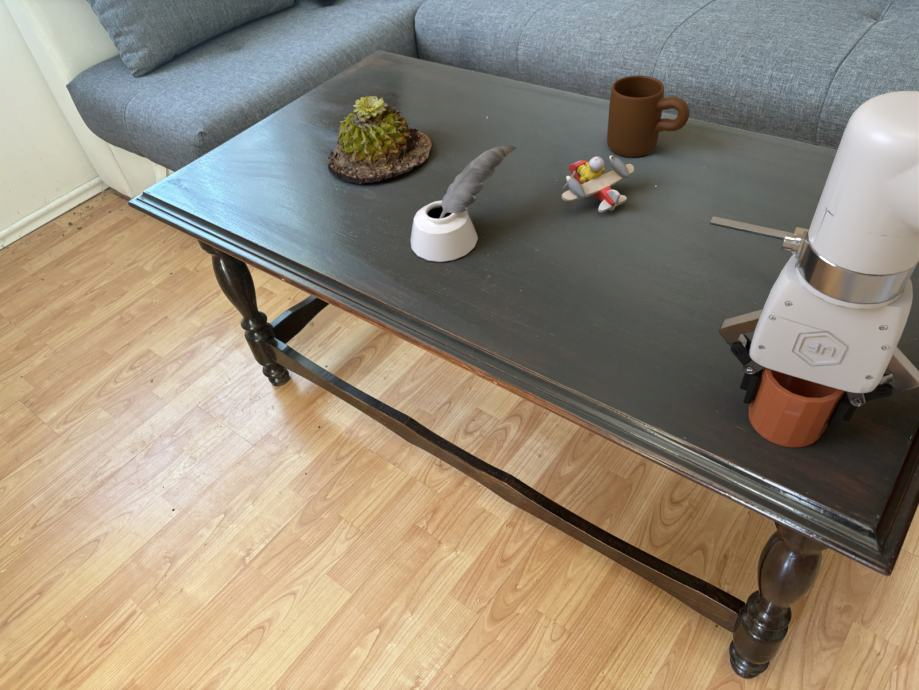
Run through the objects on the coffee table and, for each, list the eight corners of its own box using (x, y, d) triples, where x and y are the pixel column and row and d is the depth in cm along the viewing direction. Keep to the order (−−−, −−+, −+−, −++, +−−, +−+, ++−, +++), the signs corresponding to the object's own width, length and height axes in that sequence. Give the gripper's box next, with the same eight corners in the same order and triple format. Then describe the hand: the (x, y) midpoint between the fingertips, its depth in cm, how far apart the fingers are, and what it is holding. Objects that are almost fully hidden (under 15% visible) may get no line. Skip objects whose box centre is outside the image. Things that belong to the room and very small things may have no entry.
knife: (854, 247, 80) (858, 239, 79) (853, 255, 79) (856, 247, 78) (712, 217, 87) (714, 209, 86) (709, 224, 86) (711, 216, 85)
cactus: (362, 199, 97) (348, 140, 90) (310, 160, 107) (293, 104, 100) (453, 153, 104) (446, 94, 97) (396, 121, 113) (386, 65, 106)
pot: (828, 405, 65) (852, 358, 60) (816, 458, 61) (841, 412, 56) (756, 383, 67) (773, 336, 62) (740, 432, 64) (757, 386, 58)
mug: (693, 149, 98) (704, 88, 92) (668, 172, 95) (678, 111, 88) (622, 128, 104) (628, 70, 98) (596, 150, 101) (600, 91, 94)
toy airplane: (569, 180, 96) (570, 140, 91) (632, 184, 94) (637, 143, 89) (558, 216, 90) (559, 176, 85) (626, 222, 88) (630, 181, 83)
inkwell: (396, 242, 89) (384, 179, 82) (493, 186, 97) (489, 123, 89) (440, 272, 84) (430, 207, 77) (538, 210, 91) (537, 146, 84)
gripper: (724, 263, 51) (688, 404, 64) (989, 326, 44) (888, 470, 57) (746, 210, 55) (708, 352, 68) (991, 260, 49) (897, 408, 61)
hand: (791, 405), depth 63 cm, fingers closed on pot, 6 cm apart
